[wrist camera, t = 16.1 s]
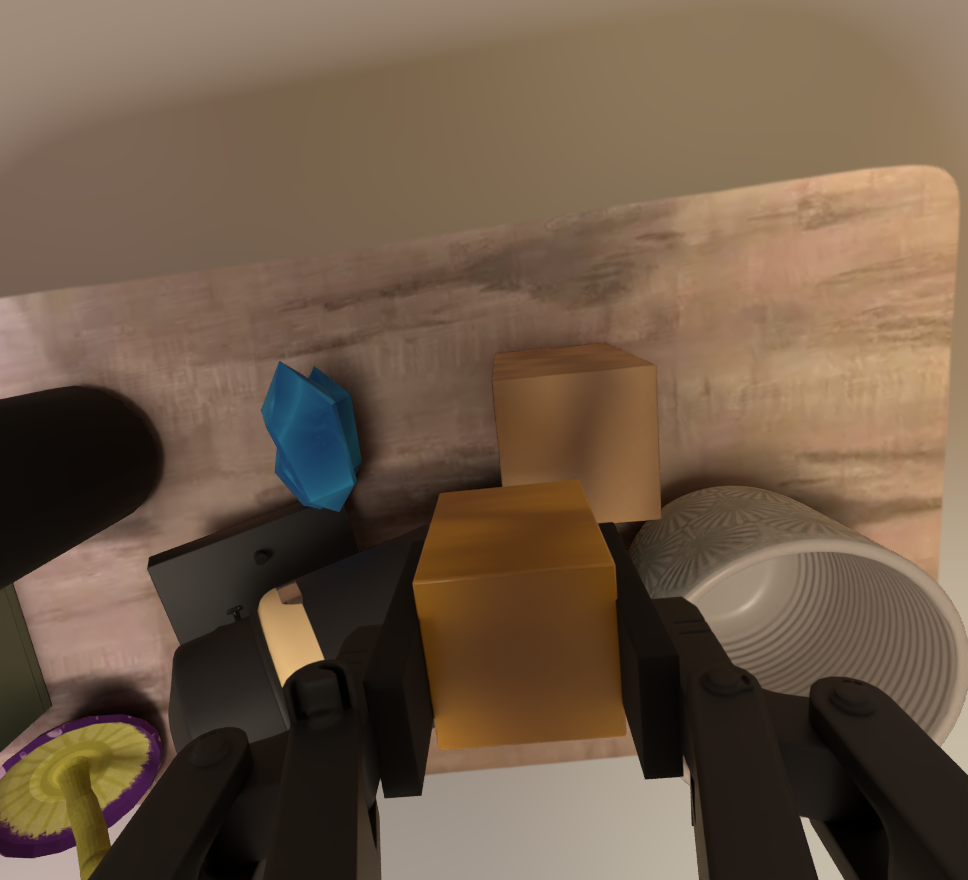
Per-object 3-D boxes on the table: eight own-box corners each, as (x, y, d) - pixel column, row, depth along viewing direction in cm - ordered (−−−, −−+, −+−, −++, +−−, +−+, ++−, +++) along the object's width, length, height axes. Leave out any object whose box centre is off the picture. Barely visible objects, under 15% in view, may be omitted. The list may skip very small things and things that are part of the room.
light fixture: (646, 664, 37) (231, 923, 27) (511, 570, 53) (214, 714, 43) (612, 477, 34) (122, 695, 24) (478, 435, 49) (147, 557, 39)
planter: (819, 645, 47) (965, 806, 32) (608, 667, 48) (655, 833, 33) (817, 442, 43) (982, 519, 28) (587, 472, 44) (629, 561, 29)
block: (456, 617, 20) (438, 752, 14) (438, 492, 19) (411, 581, 13) (589, 605, 20) (627, 737, 14) (579, 478, 18) (615, 562, 13)
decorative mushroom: (-38, 874, 34) (-49, 711, 44) (2, 1003, 38) (-17, 827, 48) (190, 763, 42) (137, 646, 52) (202, 879, 46) (150, 751, 57)
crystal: (265, 546, 40) (188, 386, 34) (325, 477, 47) (269, 336, 42) (360, 546, 37) (293, 374, 32) (409, 473, 45) (361, 322, 39)
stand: (505, 459, 44) (506, 532, 30) (494, 353, 42) (491, 380, 28) (611, 450, 44) (661, 519, 30) (606, 342, 42) (656, 364, 28)
